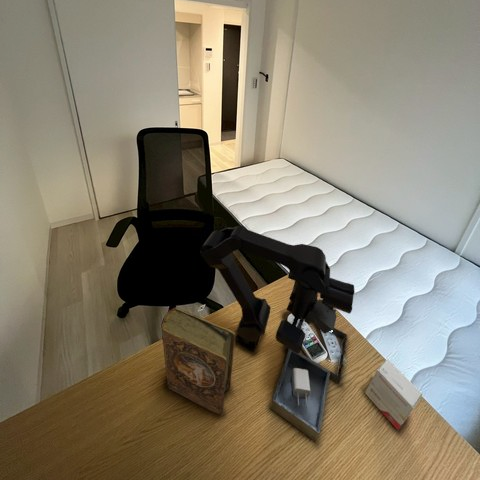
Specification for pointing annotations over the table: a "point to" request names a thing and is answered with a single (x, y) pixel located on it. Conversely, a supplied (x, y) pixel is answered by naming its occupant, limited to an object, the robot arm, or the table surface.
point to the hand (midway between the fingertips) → (293, 329)
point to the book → (197, 358)
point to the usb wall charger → (300, 384)
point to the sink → (288, 403)
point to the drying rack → (340, 366)
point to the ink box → (393, 393)
